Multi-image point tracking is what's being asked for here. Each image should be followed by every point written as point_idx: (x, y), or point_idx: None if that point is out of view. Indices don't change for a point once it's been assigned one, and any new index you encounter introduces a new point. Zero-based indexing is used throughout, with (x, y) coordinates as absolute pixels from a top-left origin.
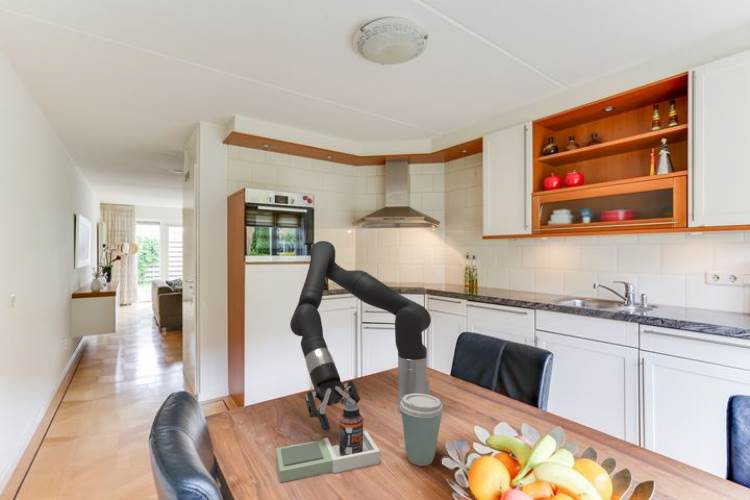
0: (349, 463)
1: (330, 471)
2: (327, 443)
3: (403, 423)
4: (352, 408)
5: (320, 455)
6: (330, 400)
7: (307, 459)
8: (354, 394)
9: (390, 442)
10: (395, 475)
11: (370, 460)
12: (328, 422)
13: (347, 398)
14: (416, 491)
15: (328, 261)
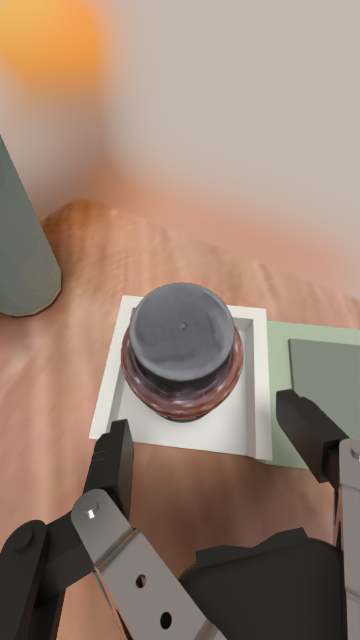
0: None
1: None
2: (264, 409)
3: (12, 221)
4: (183, 304)
5: (298, 350)
6: (307, 548)
7: (340, 347)
8: (24, 597)
9: (35, 394)
10: (123, 262)
11: None
12: (292, 404)
13: (130, 536)
14: (117, 214)
15: None
